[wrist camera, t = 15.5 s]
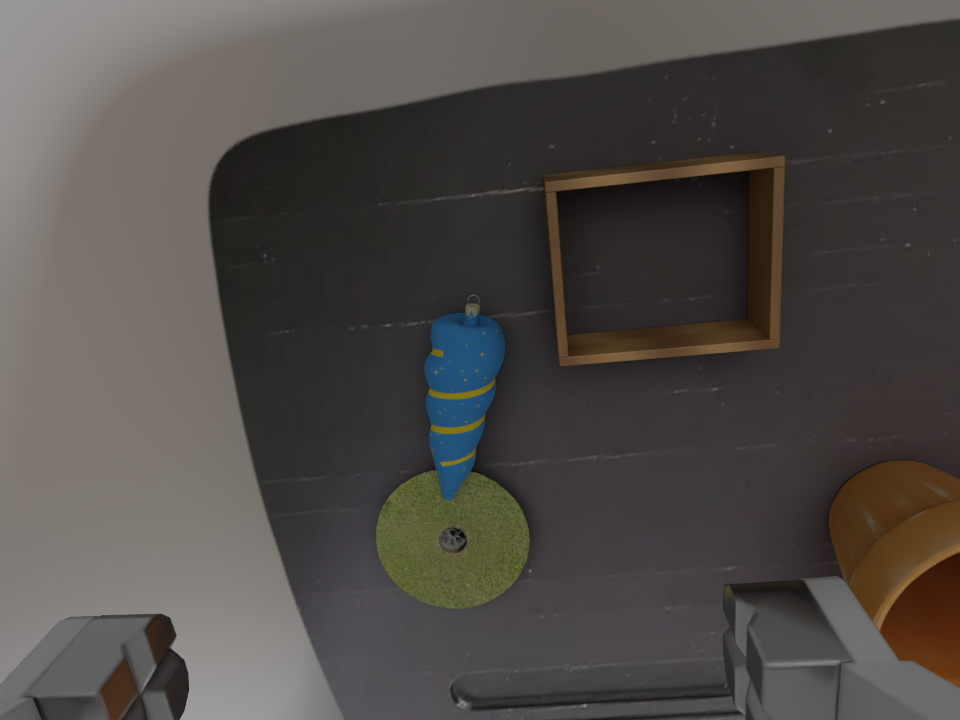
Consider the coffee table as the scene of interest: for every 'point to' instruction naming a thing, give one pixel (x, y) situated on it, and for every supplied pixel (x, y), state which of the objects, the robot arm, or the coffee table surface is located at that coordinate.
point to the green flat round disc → (452, 540)
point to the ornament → (460, 390)
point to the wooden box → (690, 337)
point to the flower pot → (904, 558)
